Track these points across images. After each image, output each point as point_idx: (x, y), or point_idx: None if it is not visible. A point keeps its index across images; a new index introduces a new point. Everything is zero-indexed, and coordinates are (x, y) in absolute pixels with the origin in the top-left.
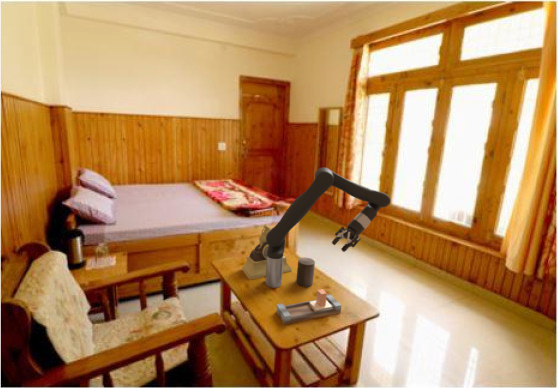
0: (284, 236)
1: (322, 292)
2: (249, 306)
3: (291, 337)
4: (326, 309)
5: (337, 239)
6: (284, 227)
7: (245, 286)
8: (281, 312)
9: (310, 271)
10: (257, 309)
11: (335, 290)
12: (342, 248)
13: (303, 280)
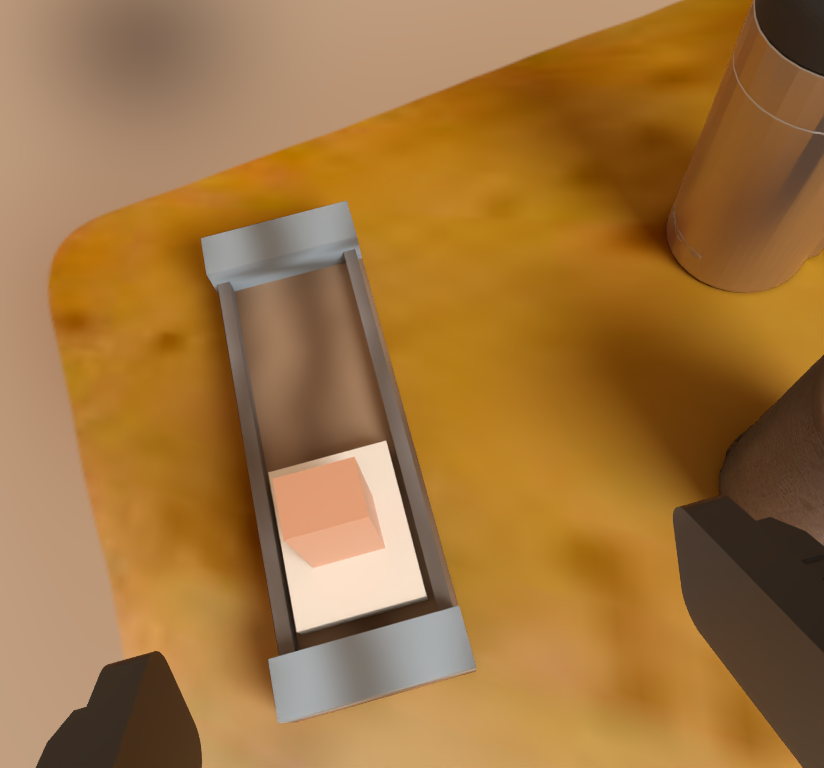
0: None
1: (302, 498)
2: (424, 100)
3: (101, 299)
4: (274, 567)
5: (812, 707)
6: None
7: (664, 70)
8: (260, 226)
9: (797, 479)
10: (390, 139)
11: None
12: (100, 683)
13: (742, 445)
